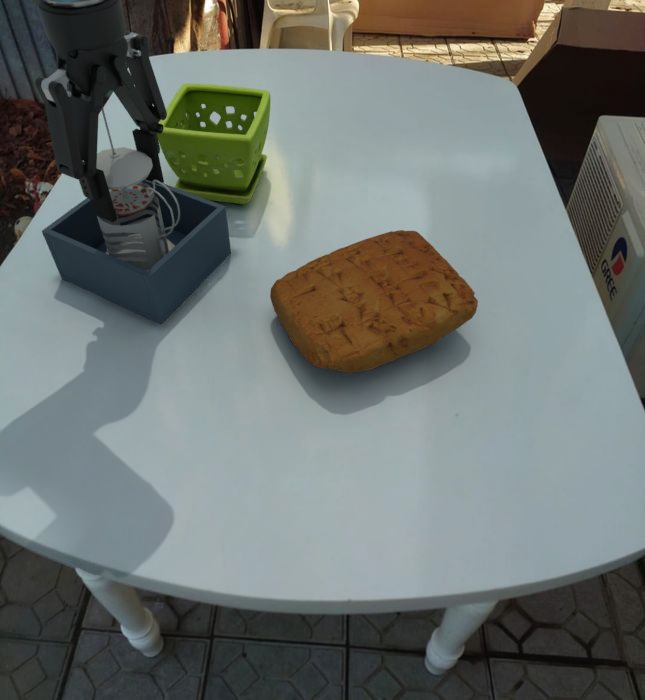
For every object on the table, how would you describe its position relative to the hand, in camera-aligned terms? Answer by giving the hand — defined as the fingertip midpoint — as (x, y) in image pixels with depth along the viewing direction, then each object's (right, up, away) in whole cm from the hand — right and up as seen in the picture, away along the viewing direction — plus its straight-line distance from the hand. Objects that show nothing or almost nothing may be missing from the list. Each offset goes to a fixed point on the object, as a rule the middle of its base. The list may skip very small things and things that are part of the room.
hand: (130, 198), depth 72 cm
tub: (0, -7, +8) cm, 11 cm away
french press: (0, -6, +8) cm, 10 cm away
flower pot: (+8, +8, +21) cm, 24 cm away
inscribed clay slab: (+29, -16, +3) cm, 33 cm away
